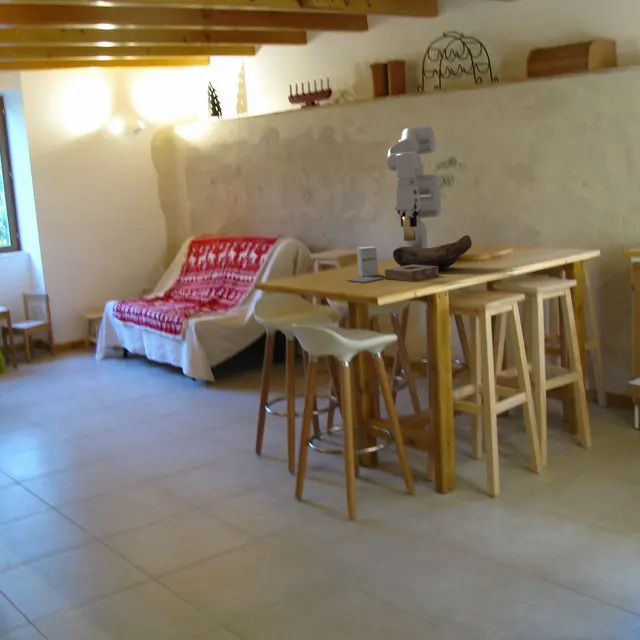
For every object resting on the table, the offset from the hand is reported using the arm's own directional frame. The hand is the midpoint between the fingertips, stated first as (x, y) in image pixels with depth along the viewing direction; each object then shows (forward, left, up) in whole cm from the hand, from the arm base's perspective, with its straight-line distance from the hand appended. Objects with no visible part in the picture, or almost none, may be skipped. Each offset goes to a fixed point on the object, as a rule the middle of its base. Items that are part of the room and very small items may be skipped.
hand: (409, 226), depth 347 cm
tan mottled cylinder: (0, 0, -6) cm, 6 cm away
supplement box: (+4, -24, -22) cm, 33 cm away
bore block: (0, 0, -22) cm, 22 cm away
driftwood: (-20, -7, -22) cm, 31 cm away
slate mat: (+15, -13, -22) cm, 29 cm away
